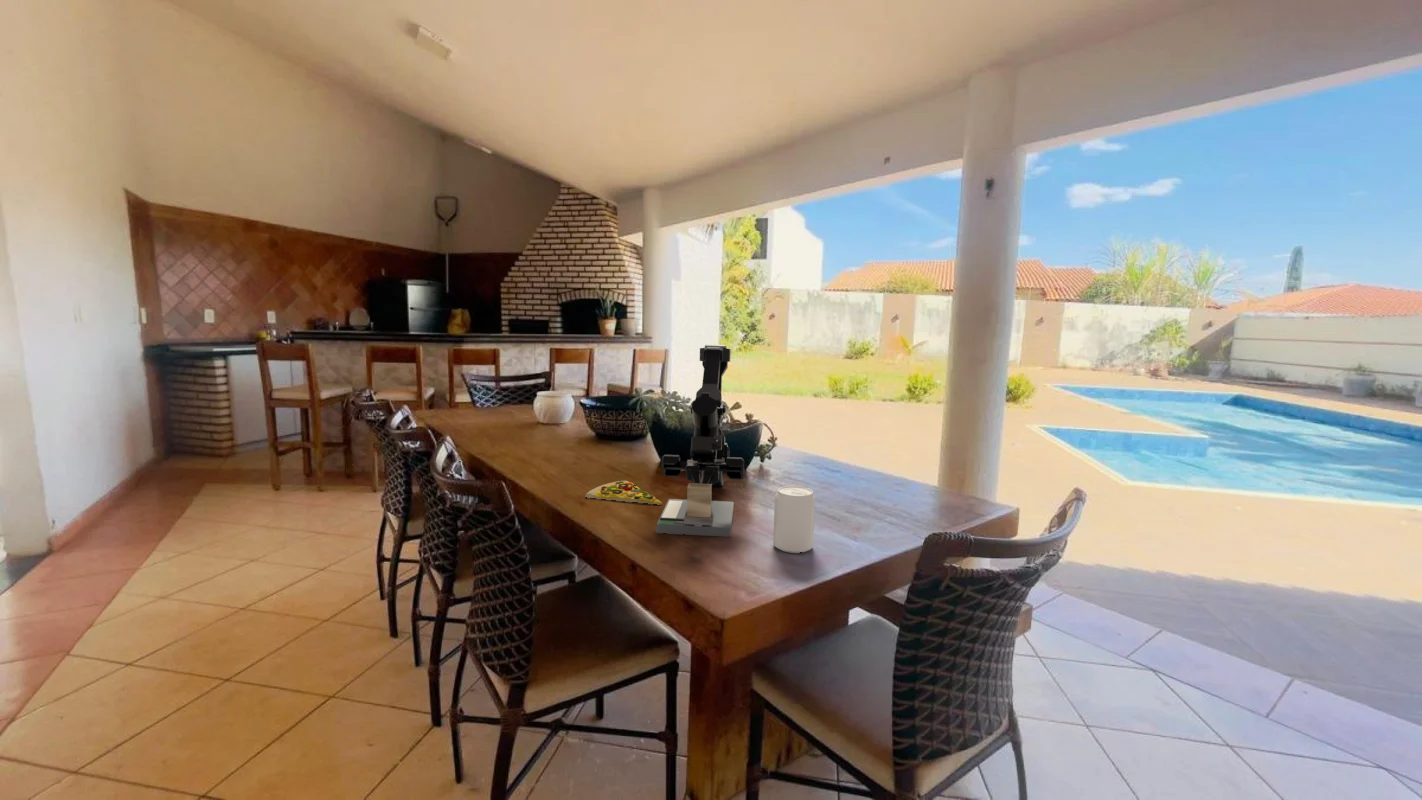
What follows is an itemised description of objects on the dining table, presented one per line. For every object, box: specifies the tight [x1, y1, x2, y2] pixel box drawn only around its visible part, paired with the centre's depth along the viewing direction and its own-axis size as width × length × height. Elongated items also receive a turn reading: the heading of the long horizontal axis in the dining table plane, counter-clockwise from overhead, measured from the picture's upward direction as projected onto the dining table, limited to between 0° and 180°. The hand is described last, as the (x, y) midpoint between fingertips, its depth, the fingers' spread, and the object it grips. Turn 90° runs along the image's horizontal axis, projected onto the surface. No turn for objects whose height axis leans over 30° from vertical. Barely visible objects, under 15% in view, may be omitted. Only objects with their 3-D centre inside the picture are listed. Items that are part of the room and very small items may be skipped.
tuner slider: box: [659, 482, 714, 525], centre depth 124 cm, size 5×12×8 cm, turn 86°
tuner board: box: [656, 498, 735, 538], centre depth 132 cm, size 18×16×2 cm
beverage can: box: [772, 485, 816, 554], centre depth 117 cm, size 8×8×12 cm
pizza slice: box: [585, 480, 663, 506], centre depth 149 cm, size 16×21×3 cm
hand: (700, 500), depth 126 cm, fingers closed
